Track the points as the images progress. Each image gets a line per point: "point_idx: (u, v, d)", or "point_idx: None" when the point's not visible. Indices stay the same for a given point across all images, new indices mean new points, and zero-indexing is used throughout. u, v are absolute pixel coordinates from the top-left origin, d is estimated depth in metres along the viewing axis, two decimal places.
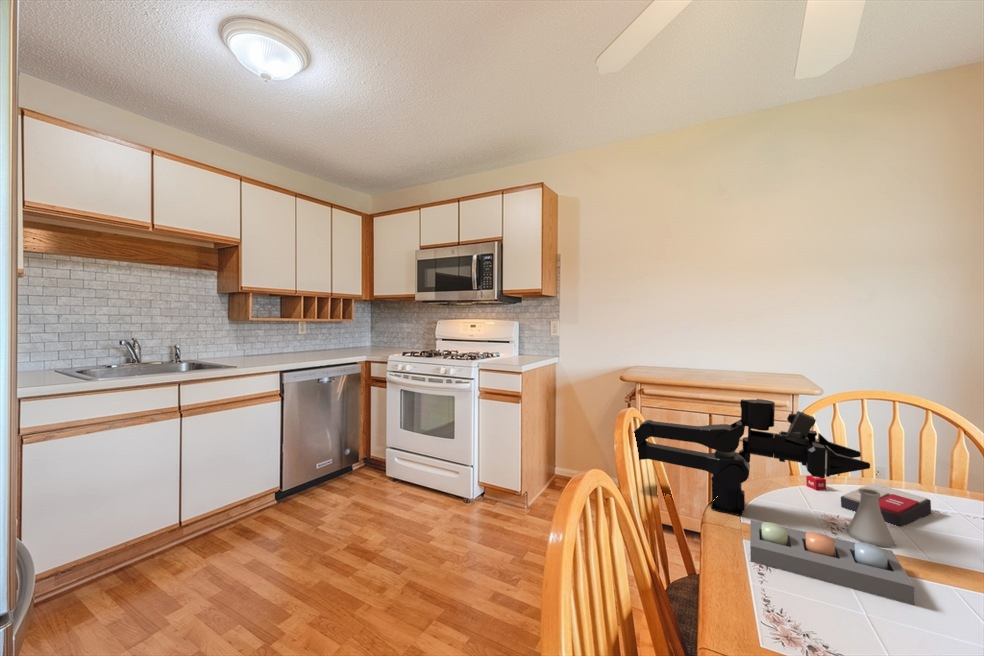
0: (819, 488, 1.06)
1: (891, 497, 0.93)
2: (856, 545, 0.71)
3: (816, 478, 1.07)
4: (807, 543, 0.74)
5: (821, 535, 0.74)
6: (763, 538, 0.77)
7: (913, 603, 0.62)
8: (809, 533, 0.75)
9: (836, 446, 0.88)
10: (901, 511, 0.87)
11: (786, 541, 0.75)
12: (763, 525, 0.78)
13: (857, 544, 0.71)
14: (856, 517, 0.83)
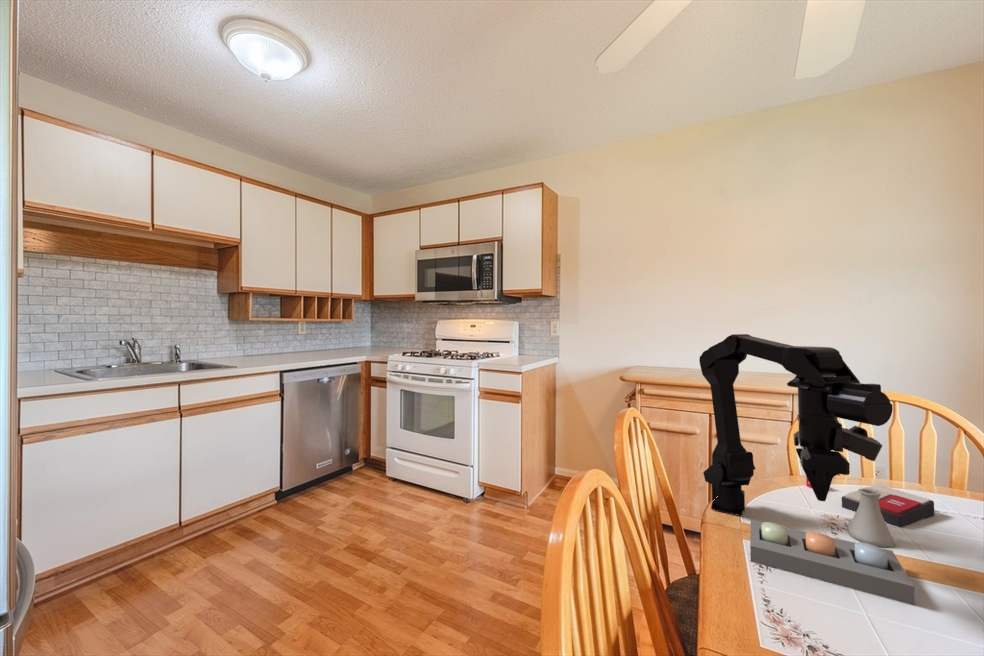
0: None
1: (893, 498, 0.93)
2: (856, 545, 0.71)
3: None
4: (807, 543, 0.74)
5: (821, 535, 0.74)
6: (763, 538, 0.77)
7: (913, 603, 0.62)
8: (809, 533, 0.75)
9: None
10: (902, 512, 0.87)
11: (786, 541, 0.75)
12: (763, 525, 0.78)
13: (857, 544, 0.71)
14: (856, 517, 0.83)
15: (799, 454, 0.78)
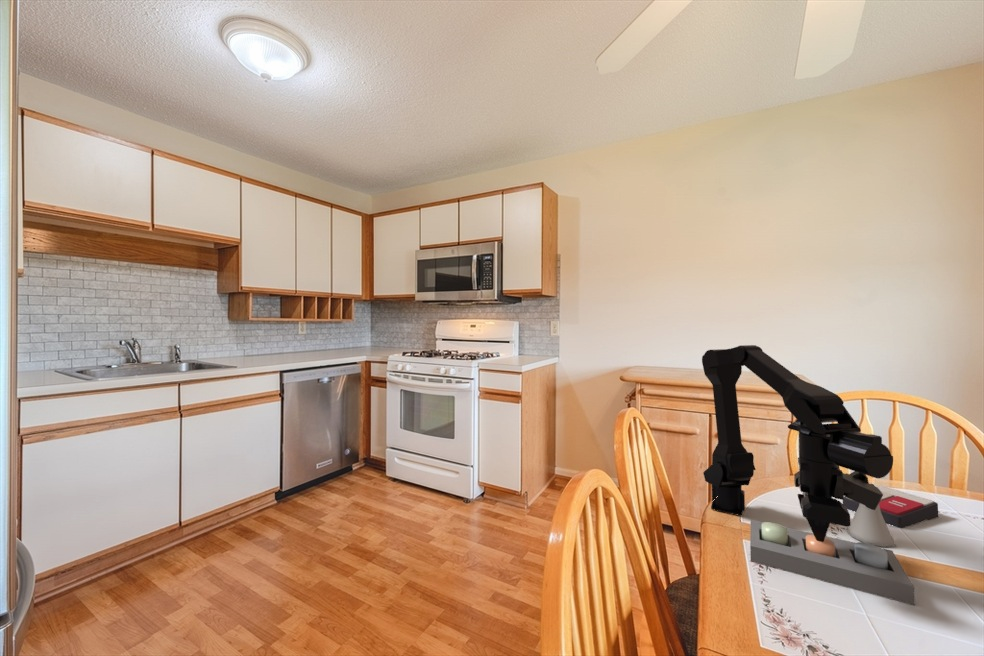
0: None
1: (895, 499, 0.92)
2: (856, 545, 0.71)
3: None
4: (807, 546, 0.74)
5: None
6: (763, 538, 0.77)
7: (913, 603, 0.62)
8: (809, 536, 0.75)
9: None
10: (902, 512, 0.87)
11: (786, 541, 0.75)
12: (763, 525, 0.78)
13: (857, 544, 0.71)
14: (856, 517, 0.83)
15: (801, 501, 0.75)
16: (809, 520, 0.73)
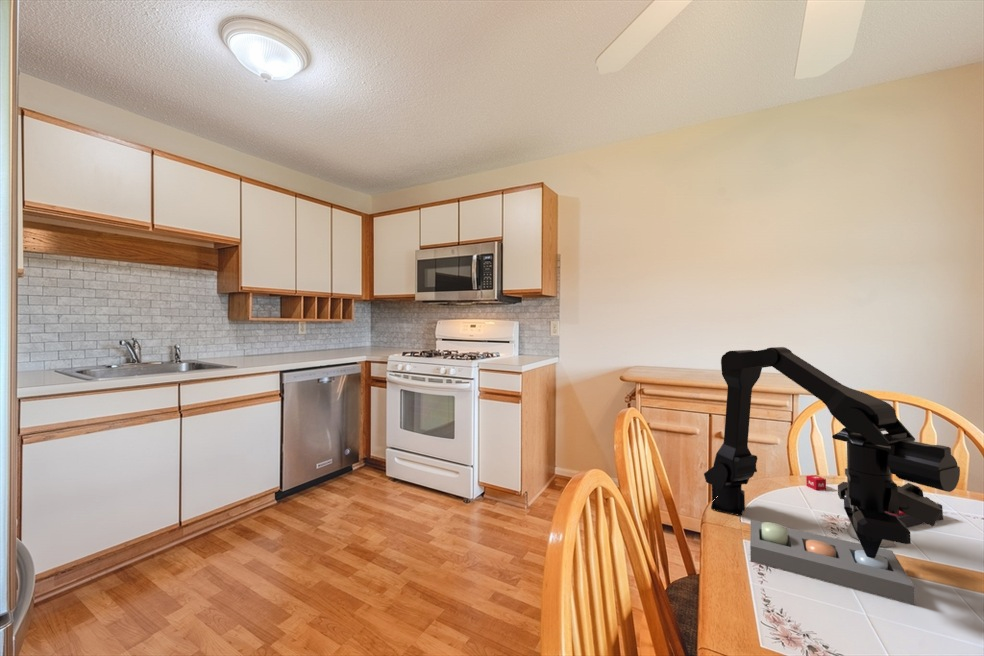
0: (819, 488, 1.06)
1: None
2: (856, 553, 0.70)
3: (816, 478, 1.07)
4: None
5: (821, 543, 0.74)
6: (763, 538, 0.77)
7: (913, 603, 0.62)
8: (809, 541, 0.75)
9: None
10: (902, 513, 0.86)
11: (786, 541, 0.75)
12: (763, 525, 0.78)
13: (857, 552, 0.71)
14: None
15: (849, 515, 0.71)
16: (859, 535, 0.69)
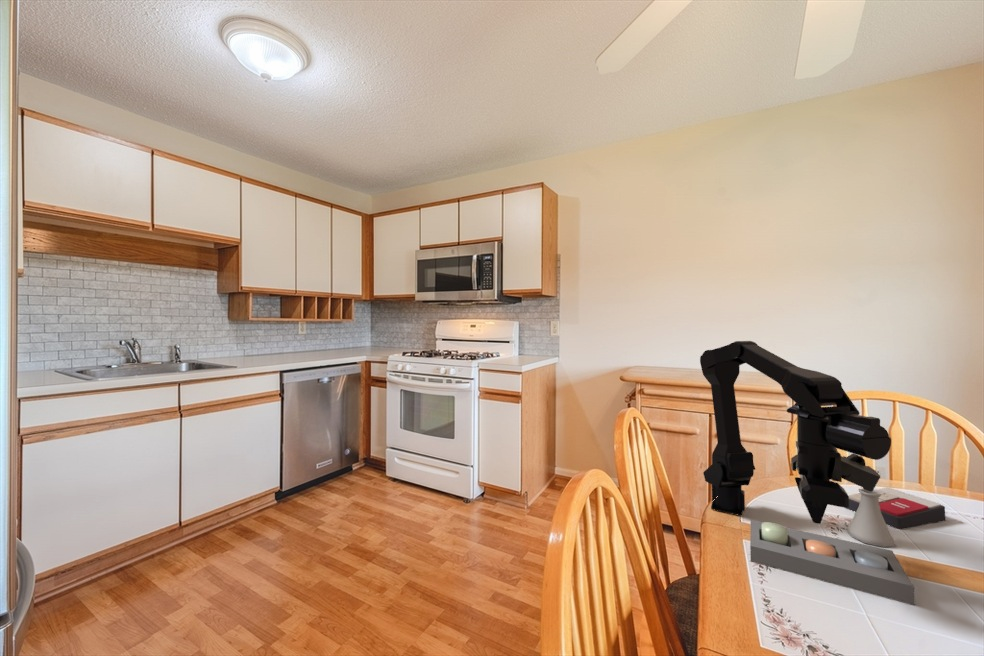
0: None
1: (899, 501, 0.91)
2: (856, 553, 0.70)
3: None
4: None
5: (821, 543, 0.74)
6: (763, 538, 0.77)
7: (913, 603, 0.62)
8: (809, 541, 0.75)
9: None
10: (903, 514, 0.86)
11: (786, 541, 0.75)
12: (763, 525, 0.78)
13: (857, 552, 0.71)
14: (856, 517, 0.83)
15: (798, 484, 0.76)
16: (806, 503, 0.73)
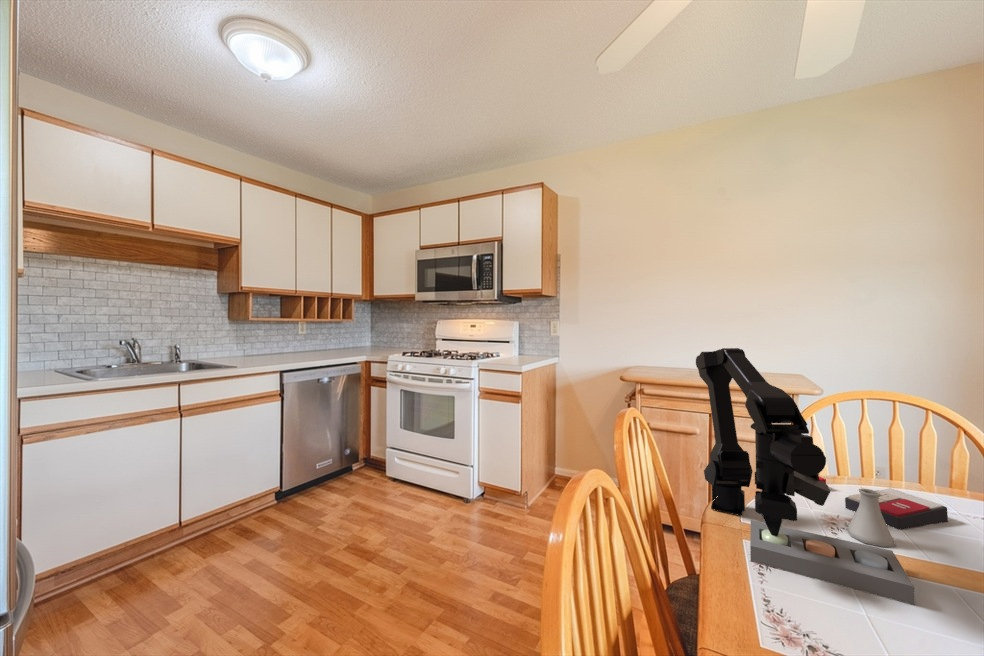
0: None
1: (900, 501, 0.91)
2: (856, 553, 0.70)
3: None
4: None
5: (821, 543, 0.74)
6: None
7: (913, 603, 0.62)
8: (809, 541, 0.75)
9: None
10: (903, 514, 0.86)
11: None
12: (763, 532, 0.78)
13: (857, 552, 0.71)
14: (856, 517, 0.83)
15: None
16: (764, 516, 0.77)
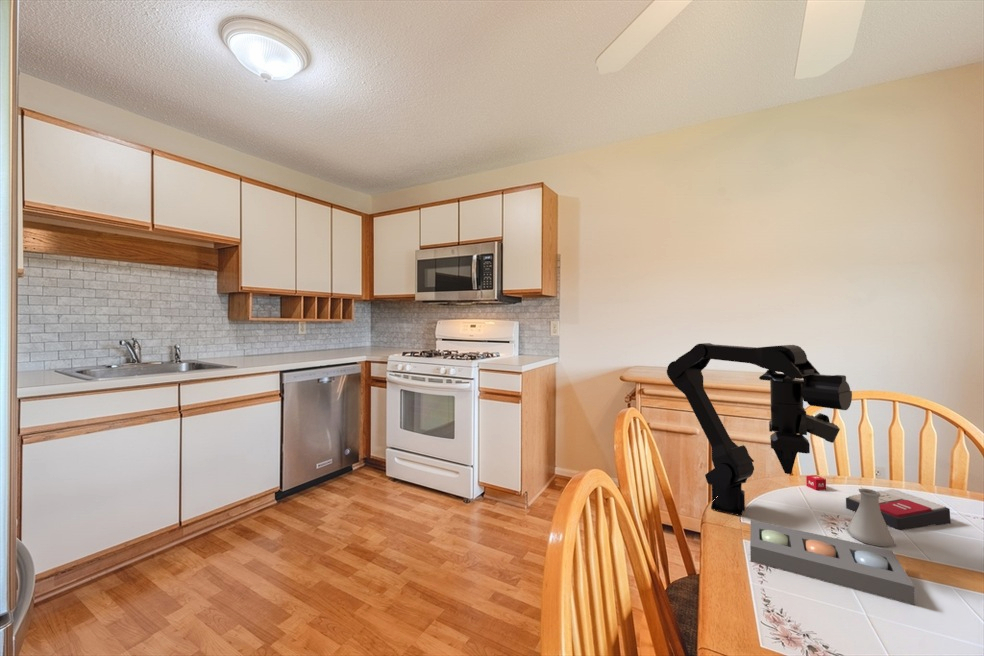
0: (819, 488, 1.06)
1: (902, 502, 0.90)
2: (856, 553, 0.70)
3: (816, 478, 1.07)
4: None
5: (821, 543, 0.74)
6: None
7: (913, 603, 0.62)
8: (809, 541, 0.75)
9: None
10: (903, 515, 0.86)
11: None
12: (763, 533, 0.78)
13: (857, 552, 0.71)
14: (856, 517, 0.83)
15: None
16: (778, 455, 0.84)
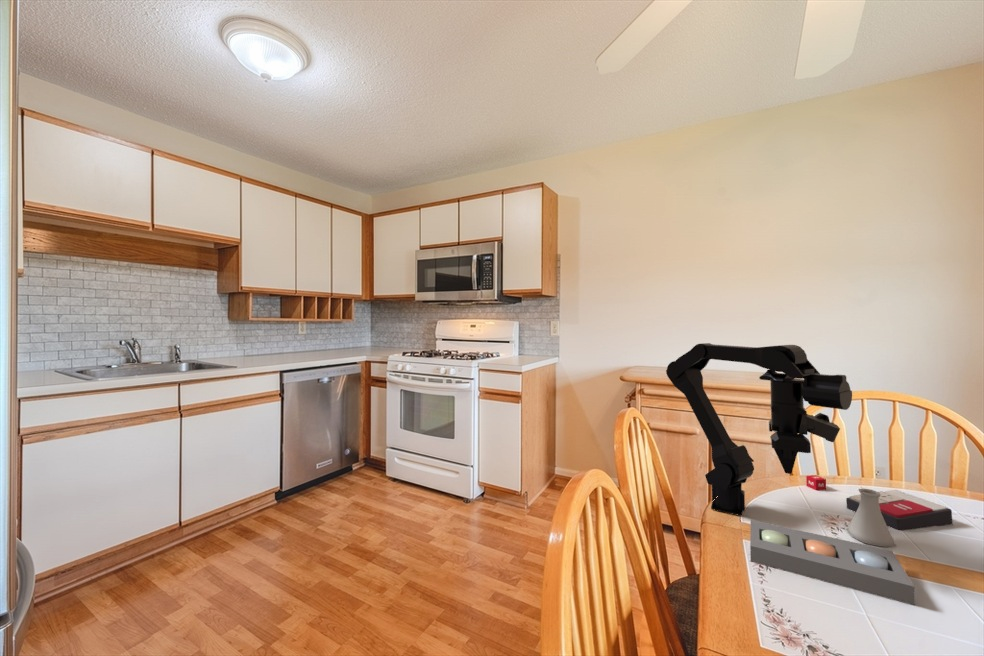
0: (819, 488, 1.06)
1: (903, 503, 0.90)
2: (856, 553, 0.70)
3: (816, 478, 1.07)
4: None
5: (821, 543, 0.74)
6: None
7: (913, 603, 0.62)
8: (809, 541, 0.75)
9: None
10: (903, 515, 0.85)
11: None
12: (763, 533, 0.78)
13: (857, 552, 0.71)
14: (856, 517, 0.83)
15: None
16: (779, 455, 0.84)
